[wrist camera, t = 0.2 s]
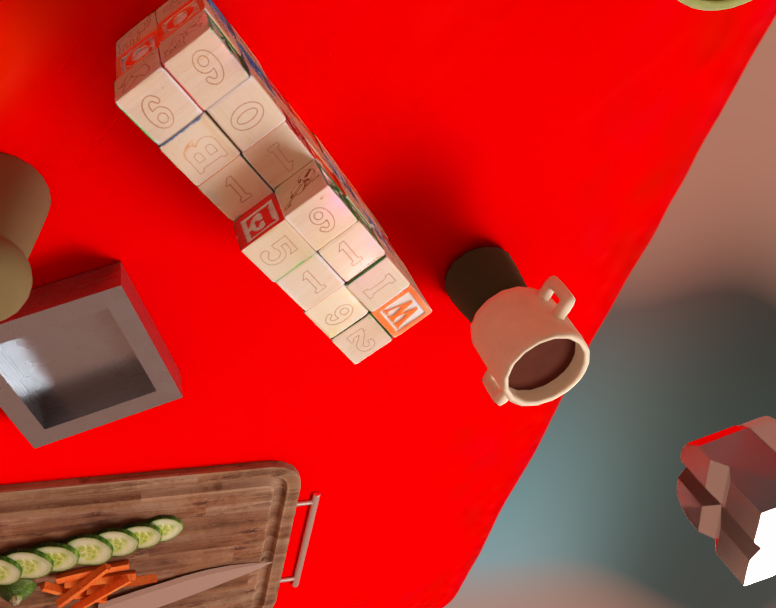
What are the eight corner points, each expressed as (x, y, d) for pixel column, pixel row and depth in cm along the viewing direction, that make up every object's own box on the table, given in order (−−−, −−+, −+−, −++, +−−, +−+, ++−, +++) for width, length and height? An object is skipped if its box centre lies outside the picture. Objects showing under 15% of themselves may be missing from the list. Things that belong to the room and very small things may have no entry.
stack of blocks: (111, 41, 41) (112, 125, 32) (194, -25, 40) (221, 42, 31) (314, 265, 55) (356, 369, 46) (379, 219, 54) (435, 315, 45)
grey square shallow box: (-46, 314, 48) (-54, 341, 46) (120, 260, 49) (121, 285, 47) (37, 420, 55) (34, 448, 53) (179, 371, 57) (182, 397, 55)
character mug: (478, 327, 64) (544, 429, 55) (413, 314, 61) (472, 420, 51) (539, 229, 60) (624, 322, 50) (473, 208, 56) (550, 304, 46)
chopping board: (327, 451, 69) (335, 475, 67) (291, 604, 84) (296, 628, 82) (-244, 501, 53) (-260, 536, 50) (-165, 681, 67) (-174, 714, 65)
